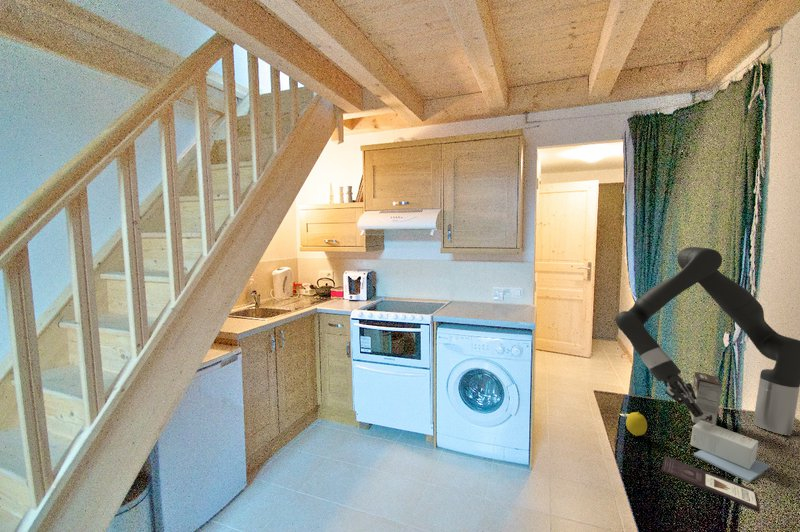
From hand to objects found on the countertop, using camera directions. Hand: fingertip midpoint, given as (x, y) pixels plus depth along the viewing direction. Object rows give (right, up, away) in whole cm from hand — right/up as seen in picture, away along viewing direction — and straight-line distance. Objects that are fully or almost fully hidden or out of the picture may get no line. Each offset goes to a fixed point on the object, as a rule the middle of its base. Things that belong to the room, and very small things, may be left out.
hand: (699, 416), depth 104 cm
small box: (0, -6, +1) cm, 6 cm away
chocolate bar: (-13, -10, -16) cm, 23 cm away
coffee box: (+16, -9, +17) cm, 25 cm away
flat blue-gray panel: (+3, -10, -7) cm, 13 cm away
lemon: (-18, -8, +4) cm, 20 cm away
